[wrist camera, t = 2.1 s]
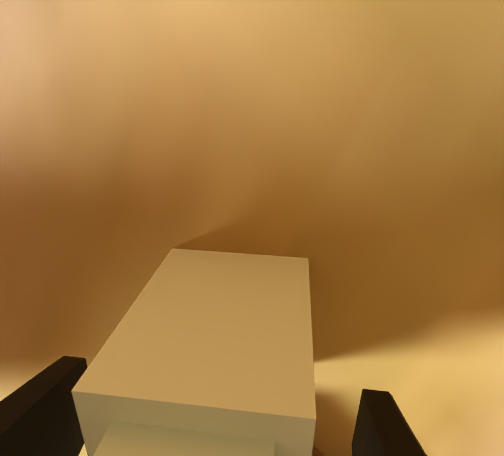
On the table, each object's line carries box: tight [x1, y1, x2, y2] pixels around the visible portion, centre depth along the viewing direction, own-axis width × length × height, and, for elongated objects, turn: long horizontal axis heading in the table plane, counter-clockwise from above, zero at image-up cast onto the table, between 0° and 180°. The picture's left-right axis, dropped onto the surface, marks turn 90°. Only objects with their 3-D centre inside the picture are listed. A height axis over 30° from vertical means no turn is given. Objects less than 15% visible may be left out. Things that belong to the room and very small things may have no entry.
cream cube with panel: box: [72, 248, 316, 456], centre depth 10 cm, size 5×5×7 cm
